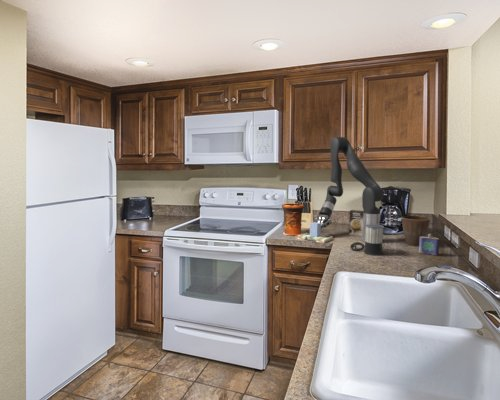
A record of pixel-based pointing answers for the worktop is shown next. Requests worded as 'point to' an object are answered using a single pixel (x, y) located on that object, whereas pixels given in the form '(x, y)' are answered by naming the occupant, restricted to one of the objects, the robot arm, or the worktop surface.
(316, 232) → the slate block
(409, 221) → the plant pot
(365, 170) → the robot arm
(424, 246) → the flask
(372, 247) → the milk frother
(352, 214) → the coffee box
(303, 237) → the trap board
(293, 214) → the vessel
